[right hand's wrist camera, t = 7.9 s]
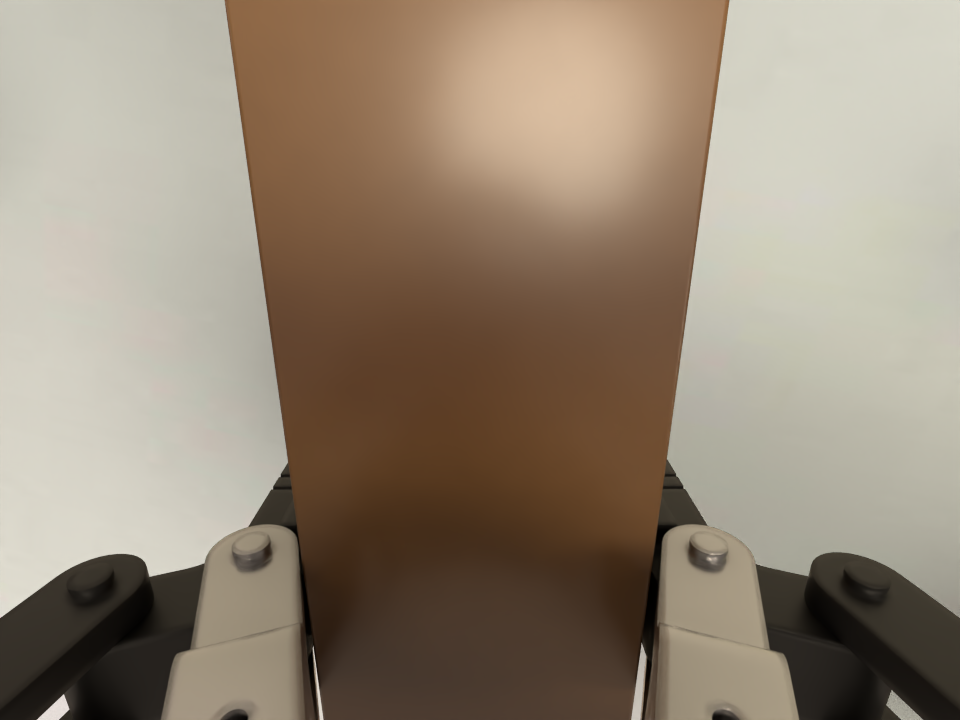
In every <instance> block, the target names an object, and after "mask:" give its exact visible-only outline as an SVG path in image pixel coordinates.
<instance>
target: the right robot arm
mask: <svg viewBox="0 0 960 720" xmlns="http://www.w3.org/2000/svg"><path fill="white" fill-rule="evenodd" d="M642 644H643V647H644V650H645V653H646V662H645V671H644V683H643V695H642V708H641V720H901V719H900V718H899V717H898V716H897V715H896V714H895V713H893V712H892V711H891V710H890V709H889V708H888V707H887V706H886V704H887V701H888V698H889V695H890V693H891V690H893V691H894V692H895V693H896V694H897V695H898V696H899V697H900V698H901V699H902V700H903V701H904V702H905V703H906V704H907V705H908V706H909V707H911V708H912V709H913V710H914V711H915V712H916V713H917V714H918V715H919V716H920V717H921V718H922V719H923V720H960V618H959V617H957V616H956V615H955V614H953V613H952V612H951V611H949V610H948V609H947V608H945V607H944V606H942V605H941V604H940V603H938V602H937V601H936V600H934V599H933V598H932V597H930V596H929V595H927V594H926V593H925V592H923V591H922V590H921V589H919V588H918V587H917V586H915V585H914V584H912V583H911V582H910V581H908V580H907V579H906V578H904V577H903V576H902V575H900V574H899V573H897V572H896V571H894V570H892V569H891V568H889V567H887V566H885V565H883V564H881V563H879V562H876V561H874V560H871V559H869V558H866V557H862V556H859V555H854V554H849V553H838V552H833V553H826V554H823V555H820V556H818V557H816V558H815V559H814V561H813V562H812V565H811V568H810V572H809V576H803V575H799V574H794V573H790V572H785V571H780V570H776V569H771V568H767V567H763V566H760V565H757V564H755V560H754V556H753V555H752V553H751V551H750V550H749V549H748V547H747V546H746V545H745V544H743V543H742V542H741V541H740V540H738V539H737V538H736V537H734V536H732V535H730V534H729V533H726V532H724V531H722V530H719V529H716V528H713V527H709V526H707V524H706V522H705V521H704V519H703V518H702V516H701V514H700V513H699V511H698V509H697V508H696V506H695V504H694V503H693V501H692V499H691V498H690V496H689V495H688V493H687V491H686V490H685V489H683V485H682V483H681V481H680V480H679V478H678V477H676V473H675V472H674V470H673V468H672V467H671V465H670V463H669V462H668V460H666V468H665V475H664V482H663V489H662V497H661V504H660V511H659V519H658V526H657V533H656V541H655V548H654V555H653V563H652V570H651V577H650V585H649V592H648V599H647V607H646V614H645V621H644V628H643V636H642ZM63 694H64V695H65V698H66V701H67V703H68V706H69V709H70V710H69V711H68V712H66V713H65V714H64V715H63V716H62V717H61V718H60V719H59V720H319V707H318V695H317V683H316V670H315V662H314V655H313V638H312V631H311V624H310V617H309V609H308V602H307V595H306V588H305V580H304V573H303V566H302V558H301V551H300V544H299V537H298V529H297V522H296V515H295V508H294V500H293V493H292V486H291V478H290V471H289V464H287V465H286V467H285V468H284V470H283V472H282V473H281V477H279V478H278V480H277V481H276V483H275V485H274V486H273V490H271V491H270V493H269V494H268V496H267V498H266V499H265V501H264V502H263V504H262V506H261V507H260V509H259V510H258V512H257V514H256V515H255V517H254V519H253V520H252V522H251V523H250V525H249V527H247V528H244V529H241V530H238V531H236V532H234V533H231V534H230V535H228V536H226V537H224V538H223V539H222V540H220V541H219V542H218V543H217V544H215V545H214V546H213V548H212V549H211V550H210V551H209V553H208V555H207V557H206V560H205V563H204V564H201V565H199V566H196V567H192V568H188V569H184V570H179V571H175V572H170V573H166V574H161V575H156V576H152V577H149V574H148V570H147V566H146V564H145V562H144V561H143V560H142V559H141V558H139V557H137V556H134V555H128V554H114V555H107V556H102V557H98V558H94V559H91V560H88V561H86V562H83V563H81V564H78V565H76V566H74V567H72V568H70V569H68V570H67V571H65V572H63V573H62V574H60V575H59V576H57V577H56V578H54V579H53V580H52V581H50V582H49V583H48V584H46V585H45V586H43V587H42V588H41V589H39V590H38V591H37V592H35V593H34V594H33V595H31V596H30V597H28V598H27V599H26V600H24V601H23V602H22V603H20V604H19V605H18V606H16V607H15V608H13V609H12V610H11V611H9V612H8V613H7V614H5V615H4V616H3V617H1V618H0V720H37V719H38V718H39V717H40V716H41V715H42V714H43V713H44V712H45V711H46V710H47V709H48V708H49V707H51V706H52V705H53V704H54V703H55V702H56V701H57V700H58V699H59V698H60V697H61V696H62V695H63Z"/></svg>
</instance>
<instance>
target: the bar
mask: <svg viewBox="0 0 960 720" xmlns="http://www.w3.org/2000/svg"><path fill="white" fill-rule="evenodd" d="M225 6H226V13H227V20H228V28H229V35H230V42H231V49H232V57H233V64H234V71H235V79H236V86H237V93H238V100H239V108H240V115H241V122H242V129H243V137H244V144H245V151H246V159H247V166H248V173H249V180H250V188H251V195H252V202H253V209H254V217H255V224H256V231H257V239H258V246H259V253H260V260H261V268H262V275H263V282H264V289H265V297H266V304H267V311H268V319H269V326H270V333H271V340H272V348H273V355H274V362H275V369H276V377H277V384H278V391H279V398H280V406H281V413H282V420H283V428H284V435H285V442H286V449H287V457H288V464H289V471H290V478H291V486H292V493H293V500H294V508H295V515H296V522H297V529H298V537H299V544H300V551H301V558H302V566H303V573H304V580H305V588H306V595H307V602H308V609H309V617H310V624H311V631H312V638H313V646H314V653H315V660H316V668H317V675H318V682H319V689H320V697H321V704H322V711H323V718H324V720H631V716H632V709H633V702H634V694H635V687H636V680H637V672H638V665H639V658H640V650H641V643H642V636H643V628H644V621H645V614H646V607H647V599H648V592H649V585H650V577H651V570H652V563H653V555H654V548H655V541H656V533H657V526H658V519H659V511H660V504H661V497H662V489H663V482H664V475H665V468H666V460H667V453H668V446H669V438H670V431H671V424H672V416H673V409H674V402H675V394H676V387H677V380H678V372H679V365H680V358H681V351H682V343H683V336H684V329H685V321H686V314H687V307H688V299H689V292H690V285H691V277H692V270H693V263H694V255H695V248H696V241H697V233H698V226H699V219H700V212H701V204H702V197H703V190H704V182H705V175H706V168H707V160H708V153H709V146H710V138H711V131H712V124H713V116H714V109H715V102H716V95H717V87H718V80H719V73H720V65H721V58H722V51H723V43H724V36H725V29H726V21H727V14H728V7H729V0H225Z"/></svg>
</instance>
